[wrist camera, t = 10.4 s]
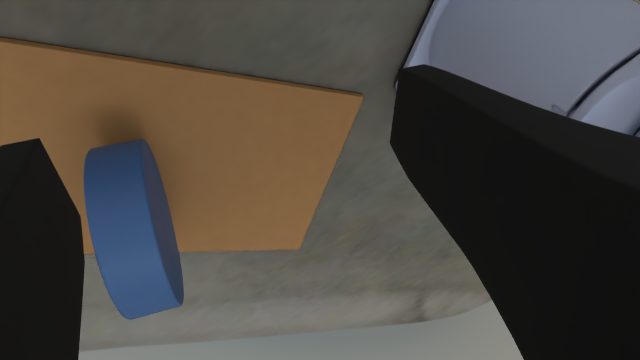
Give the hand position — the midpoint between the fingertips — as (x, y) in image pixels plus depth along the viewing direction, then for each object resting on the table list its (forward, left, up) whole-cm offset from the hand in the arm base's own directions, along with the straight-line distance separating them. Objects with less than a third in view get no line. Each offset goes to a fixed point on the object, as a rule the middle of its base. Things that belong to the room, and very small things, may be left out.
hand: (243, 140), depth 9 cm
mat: (+1, +9, -10) cm, 14 cm away
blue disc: (+1, +9, -7) cm, 11 cm away
